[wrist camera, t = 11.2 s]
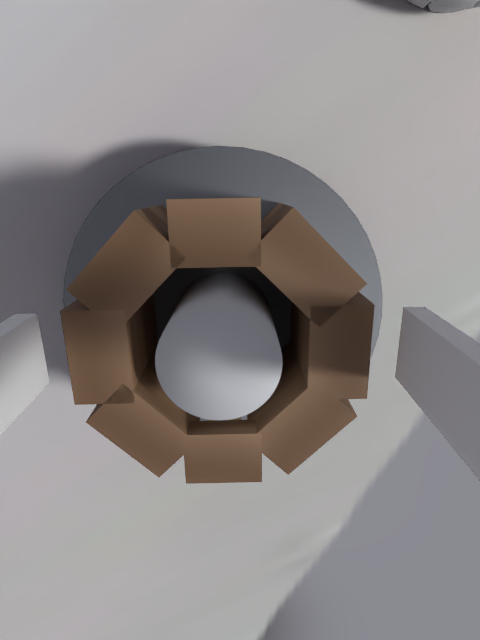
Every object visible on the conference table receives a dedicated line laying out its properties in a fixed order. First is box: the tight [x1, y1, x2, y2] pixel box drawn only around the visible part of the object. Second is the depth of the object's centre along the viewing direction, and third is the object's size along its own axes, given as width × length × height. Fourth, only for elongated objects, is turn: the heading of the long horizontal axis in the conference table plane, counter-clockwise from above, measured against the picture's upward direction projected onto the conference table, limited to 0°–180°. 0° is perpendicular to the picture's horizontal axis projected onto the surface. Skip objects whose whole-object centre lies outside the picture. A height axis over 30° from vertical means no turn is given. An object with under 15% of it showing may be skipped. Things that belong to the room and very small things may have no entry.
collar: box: [60, 197, 375, 483], centre depth 17 cm, size 11×11×5 cm
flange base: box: [63, 146, 382, 421], centre depth 18 cm, size 15×15×8 cm
